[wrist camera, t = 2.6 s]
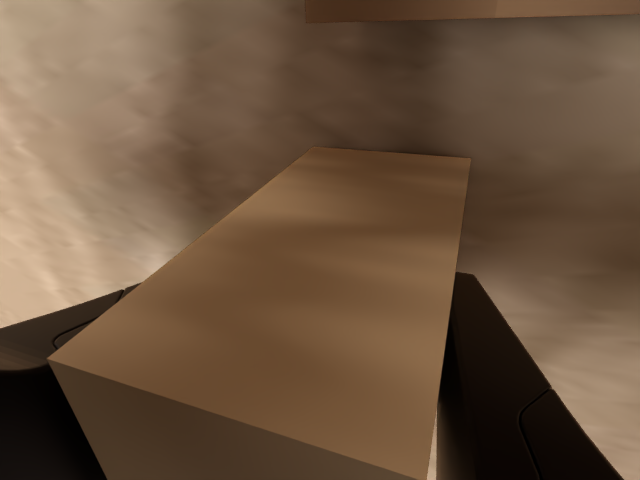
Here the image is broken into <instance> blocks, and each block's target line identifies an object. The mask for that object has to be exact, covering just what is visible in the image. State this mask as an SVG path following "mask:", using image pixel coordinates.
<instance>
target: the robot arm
mask: <svg viewBox="0 0 640 480" xmlns="http://www.w3.org/2000/svg"><path fill="white" fill-rule="evenodd" d="M141 283H142V282H141ZM141 283H139V284H136V285H133V286H130V287H127V288H126V289H125V290H119V291H116V292H113V293H111V294H108V295H105V296H102V297H99V298H96V299H93V300H90V301H87V302H84V303H82V304H78V305H75V306H72V307H69V308H66V309H63V310H59V311H56V312H53V313H50V314H46V315H43V316H40V317H36V318H33V319H30V320H27V321H23V322H20V323H17V324H13V325H10V326H7V327H3V328H0V480H107V478H106V476H105V474H104V472H103V470H102V468H101V466H100V464H99V462H98V460H97V458H96V456H95V454H94V452H93V450H92V448H91V446H90V444H89V442H88V440H87V438H86V436H85V434H84V432H83V430H82V428H81V426H80V424H79V422H78V420H77V418H76V416H75V414H74V412H73V410H72V408H71V406H70V404H69V402H68V400H67V398H66V396H65V394H64V392H63V390H62V388H61V386H60V384H59V382H58V380H57V378H56V376H55V374H54V372H53V370H52V368H51V366H50V364H49V362H48V360H47V358H48V357H49V356H51V355H52V354H53V353H54V352H56V351H57V350H58V349H59V348H61V347H62V346H63V345H64V344H66V343H67V342H68V341H69V340H71V339H72V338H73V337H75V336H76V335H77V334H78V333H80V332H81V331H82V330H83V329H85V328H86V327H87V326H88V325H90V324H91V323H92V322H93V321H95V320H96V319H97V318H98V317H100V316H101V315H102V314H103V313H105V312H106V311H107V310H108V309H110V308H111V307H112V306H113V305H115V304H116V303H117V302H119V301H120V300H121V299H122V298H124V297H125V296H126V295H127V294H129V293H130V292H131V291H132V290H134V289H135V288H136V287H137V286H139V285H140V284H141ZM436 480H624V479H623V478H622V477H621V476H620V474H619V473H618V472H617V471H616V470H615V469H614V467H613V466H612V465H611V464H610V463H609V461H608V460H607V459H606V458H605V456H604V455H603V454H602V453H601V452H600V450H599V449H598V448H597V447H596V445H595V444H594V443H593V442H592V441H591V439H590V438H589V437H588V436H587V434H586V433H585V432H584V430H583V429H582V428H581V426H580V425H579V424H578V422H577V421H576V420H575V418H574V417H573V416H572V414H571V413H570V411H569V410H568V409H567V407H566V406H565V405H564V403H563V402H562V400H561V399H560V397H559V396H558V395H557V393H556V392H555V390H553V389H552V387H551V385H550V383H549V382H548V380H547V379H546V378H545V376H544V375H543V373H542V372H541V370H540V369H539V367H538V366H537V365H536V363H535V362H534V360H533V359H532V357H531V356H530V355H529V353H528V352H527V350H526V349H525V347H524V346H523V344H522V343H521V342H520V340H519V339H518V337H517V336H516V334H515V333H514V332H513V330H512V329H511V327H510V326H509V324H508V323H507V321H506V320H505V319H504V317H503V316H502V314H501V313H500V311H499V310H498V309H497V307H496V306H495V304H494V303H493V301H492V300H491V298H490V297H489V296H488V294H487V293H486V291H485V290H484V288H483V287H482V285H481V284H480V283H479V281H478V280H477V278H476V277H475V276H474V275H473V274H467V273H461V272H455V279H454V286H453V293H452V300H451V307H450V315H449V322H448V329H447V336H446V343H445V351H444V358H443V365H442V372H441V379H440V387H439V394H438V401H437V462H436Z"/></svg>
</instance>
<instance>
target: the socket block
mask: <svg viewBox="0 0 640 480" xmlns="http://www.w3.org/2000/svg"><path fill="white" fill-rule="evenodd" d="M305 12H306V23H327V22H364V21H400V20H437V19H474V18H510V17H547V16H583V15H620V14H640V0H305Z"/></svg>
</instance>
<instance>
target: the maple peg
mask: <svg viewBox="0 0 640 480" xmlns="http://www.w3.org/2000/svg"><path fill="white" fill-rule="evenodd" d="M470 163H471V158H459V157H445V156H432V155H419V154H406V153H392V152H379V151H366V150H353V149H339V148H326V147H312V148H311V149H310V150H308V151H307V152H306V153H305V154H303V155H302V156H301V157H300V158H298V159H297V160H296V161H295V162H293V163H292V164H291V165H290V166H288V167H287V168H286V169H284V170H283V171H282V172H281V173H279V174H278V175H277V176H276V177H274V178H273V179H272V180H271V181H269V182H268V183H267V184H266V185H264V186H263V187H262V188H261V189H259V190H258V191H257V192H256V193H254V194H253V195H252V196H251V197H249V198H248V199H247V200H246V201H244V202H243V203H242V204H240V205H239V206H238V207H237V208H235V209H234V210H233V211H232V212H230V213H229V214H228V215H227V216H225V217H224V218H223V219H222V220H220V221H219V222H218V223H217V224H215V225H214V226H213V227H212V228H210V229H209V230H208V231H207V232H205V233H204V234H203V235H202V236H200V237H199V238H198V239H196V240H195V241H194V242H193V243H191V244H190V245H189V246H188V247H186V248H185V249H184V250H183V251H181V252H180V253H179V254H178V255H176V256H175V257H174V258H173V259H171V260H170V261H169V262H168V263H166V264H165V265H164V266H163V267H161V268H160V269H159V270H157V271H156V272H155V273H154V274H152V275H151V276H150V277H149V278H147V279H146V280H145V281H144V282H142V283H141V284H140V285H139V286H137V287H136V288H135V289H134V290H132V291H131V292H130V293H129V294H127V295H126V296H125V297H124V298H122V299H121V300H120V301H119V302H117V303H116V304H115V305H113V306H112V307H111V308H110V309H108V310H107V311H106V312H105V313H103V314H102V315H101V316H100V317H98V318H97V319H96V320H95V321H93V322H92V323H91V324H90V325H88V326H87V327H86V328H85V329H83V330H82V331H81V332H80V333H78V334H77V335H76V336H75V337H73V338H72V339H71V340H69V341H68V342H67V343H66V344H64V345H63V346H62V347H61V348H59V349H58V350H57V351H56V352H54V353H53V354H52V355H51V356H49V357H48V358H47V360H48V362H49V364H50V366H51V368H52V370H53V372H54V374H55V376H56V378H57V380H58V382H59V384H60V386H61V388H62V390H63V392H64V394H65V396H66V398H67V400H68V402H69V404H70V406H71V408H72V410H73V412H74V414H75V416H76V418H77V420H78V422H79V424H80V426H81V428H82V430H83V432H84V434H85V436H86V438H87V440H88V442H89V444H90V446H91V448H92V450H93V452H94V454H95V456H96V458H97V460H98V462H99V464H100V466H101V468H102V470H103V472H104V474H105V476H106V478H107V480H427V473H428V466H429V459H430V451H431V444H432V437H433V430H434V423H435V415H436V408H437V401H438V394H439V387H440V379H441V372H442V365H443V358H444V351H445V343H446V336H447V329H448V322H449V315H450V307H451V300H452V293H453V286H454V279H455V271H456V264H457V257H458V250H459V242H460V235H461V228H462V221H463V214H464V206H465V199H466V192H467V185H468V178H469V170H470Z"/></svg>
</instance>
